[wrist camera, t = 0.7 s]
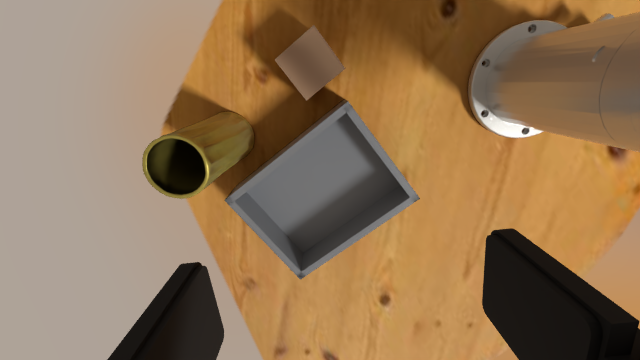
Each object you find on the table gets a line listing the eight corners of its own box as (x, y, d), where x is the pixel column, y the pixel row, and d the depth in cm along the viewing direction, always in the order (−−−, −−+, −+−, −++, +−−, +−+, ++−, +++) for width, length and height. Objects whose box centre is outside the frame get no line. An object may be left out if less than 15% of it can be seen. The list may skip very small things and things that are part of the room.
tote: (344, 98, 35) (348, 101, 30) (407, 184, 38) (419, 198, 34) (236, 185, 39) (224, 200, 34) (302, 257, 42) (300, 279, 37)
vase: (195, 137, 37) (120, 168, 23) (226, 100, 35) (166, 111, 22) (233, 170, 38) (183, 218, 24) (264, 136, 37) (230, 167, 23)
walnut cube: (315, 33, 33) (313, 24, 28) (342, 70, 34) (345, 68, 29) (281, 63, 34) (274, 59, 29) (308, 98, 35) (306, 100, 30)
